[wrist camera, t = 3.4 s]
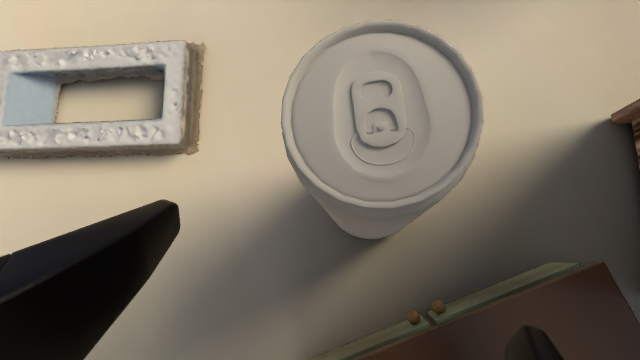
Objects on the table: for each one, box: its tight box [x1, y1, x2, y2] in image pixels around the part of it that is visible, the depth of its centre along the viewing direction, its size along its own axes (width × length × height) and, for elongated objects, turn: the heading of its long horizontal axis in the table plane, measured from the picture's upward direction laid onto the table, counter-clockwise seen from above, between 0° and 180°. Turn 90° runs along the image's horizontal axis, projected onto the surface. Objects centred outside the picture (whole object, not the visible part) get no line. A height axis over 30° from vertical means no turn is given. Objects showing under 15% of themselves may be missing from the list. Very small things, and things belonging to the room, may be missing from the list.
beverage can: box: [281, 20, 484, 239], centre depth 14 cm, size 5×5×12 cm
